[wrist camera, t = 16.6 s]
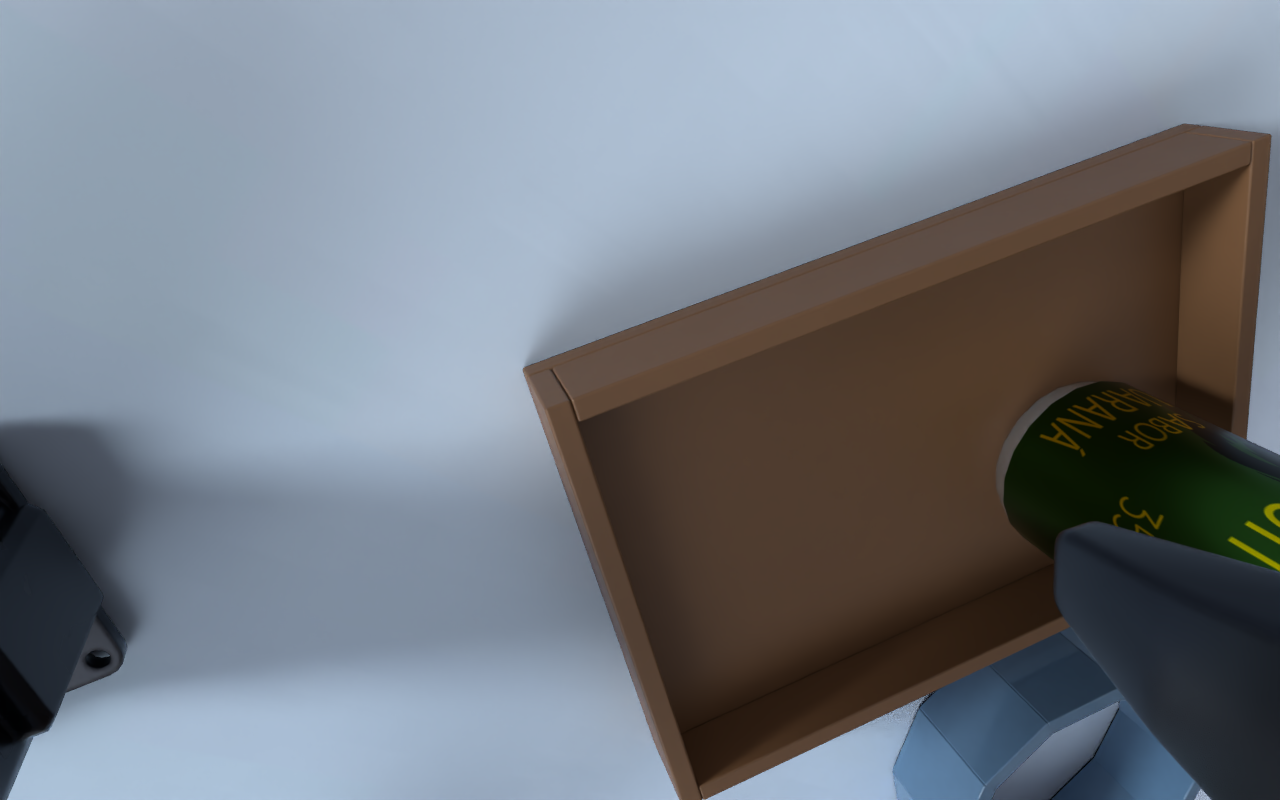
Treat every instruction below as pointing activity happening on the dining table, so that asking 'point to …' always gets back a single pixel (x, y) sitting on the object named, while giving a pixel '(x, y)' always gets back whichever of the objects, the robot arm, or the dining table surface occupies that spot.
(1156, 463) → the beer can
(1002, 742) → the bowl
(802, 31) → the dining table surface
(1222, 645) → the robot arm
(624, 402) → the tray
